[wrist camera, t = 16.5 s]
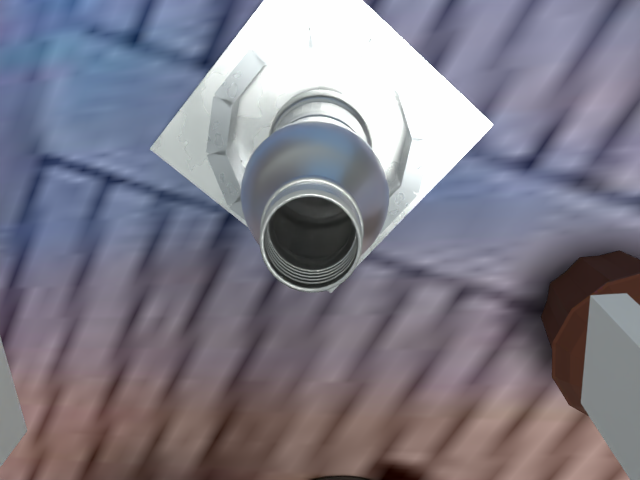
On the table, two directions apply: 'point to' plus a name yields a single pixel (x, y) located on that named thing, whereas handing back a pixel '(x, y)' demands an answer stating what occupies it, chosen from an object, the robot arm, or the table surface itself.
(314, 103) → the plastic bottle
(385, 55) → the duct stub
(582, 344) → the muffin
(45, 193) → the table surface
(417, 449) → the table surface
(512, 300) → the table surface
